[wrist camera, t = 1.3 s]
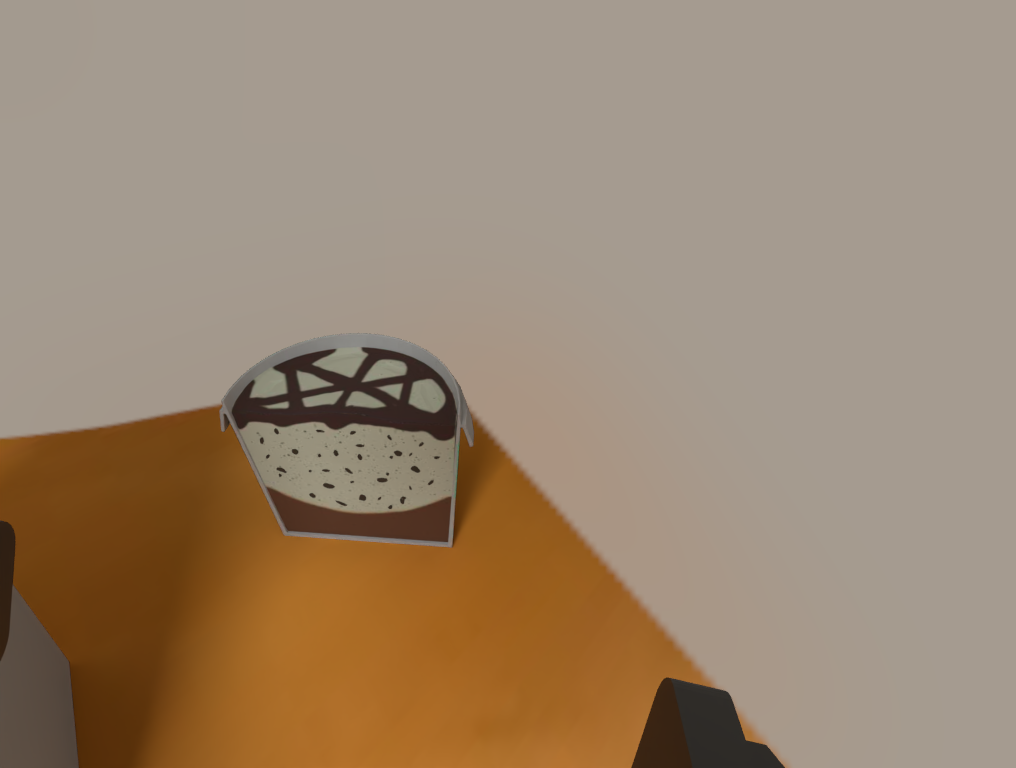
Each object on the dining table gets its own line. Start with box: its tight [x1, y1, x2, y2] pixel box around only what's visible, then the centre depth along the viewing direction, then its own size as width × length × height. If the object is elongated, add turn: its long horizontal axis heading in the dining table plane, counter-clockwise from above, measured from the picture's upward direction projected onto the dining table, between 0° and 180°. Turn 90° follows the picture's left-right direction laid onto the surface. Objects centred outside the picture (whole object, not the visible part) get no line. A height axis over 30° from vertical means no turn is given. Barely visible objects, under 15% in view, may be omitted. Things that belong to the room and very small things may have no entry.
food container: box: [220, 333, 474, 547], centre depth 43 cm, size 12×6×10 cm, turn 84°
